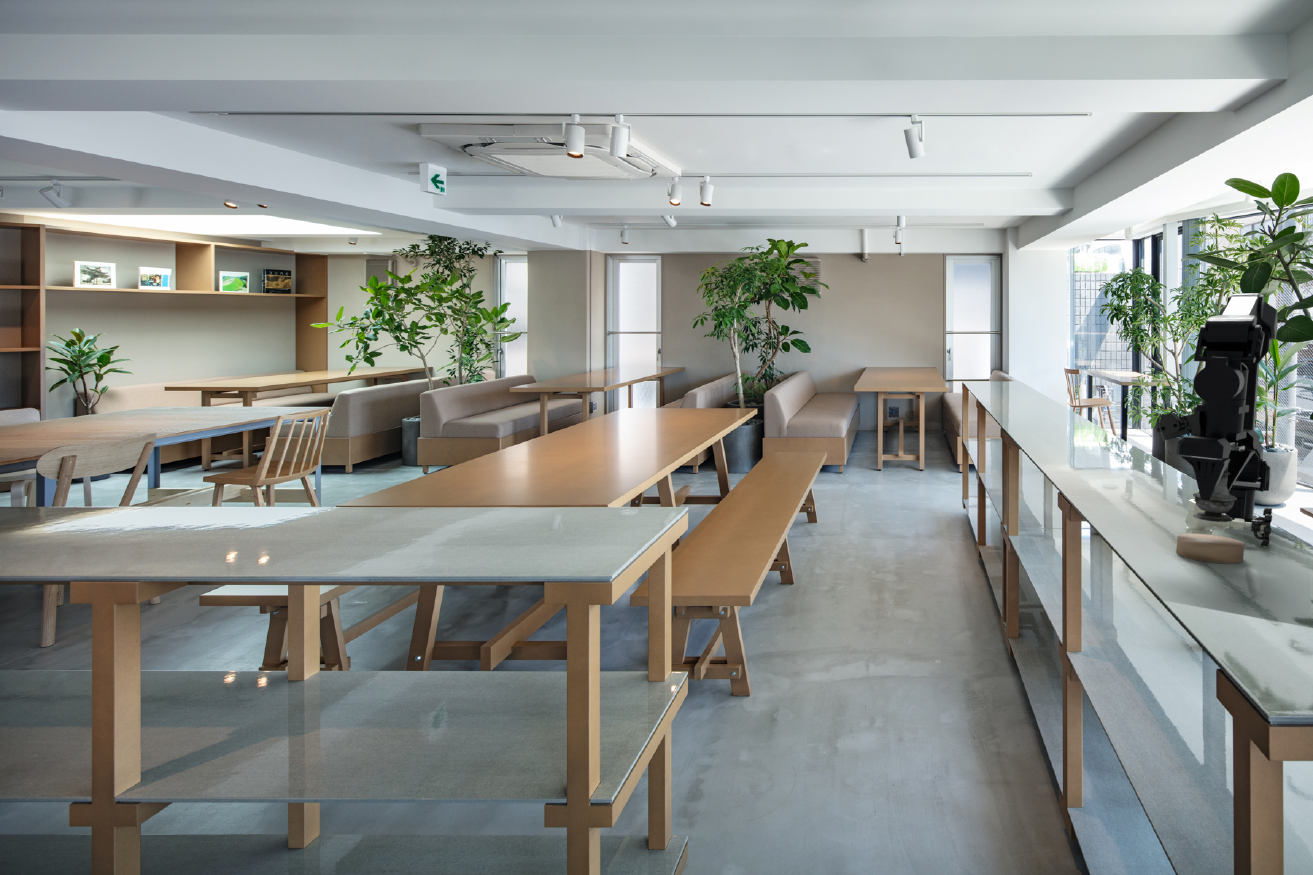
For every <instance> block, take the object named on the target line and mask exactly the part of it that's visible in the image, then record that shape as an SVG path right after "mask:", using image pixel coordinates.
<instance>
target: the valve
mask: <svg viewBox="0 0 1313 875" xmlns="http://www.w3.org/2000/svg"><path fill="white" fill-rule="evenodd" d="M1187 510H1188V512H1187V513H1186V515H1185V523H1186V526H1187V527H1185V534H1208V535H1213V530H1212V529H1215V530H1217V531H1219V532H1225V529H1228V530H1229V529H1230V528H1233V529H1234V530H1236V531H1237V530H1240V531H1243V530H1244V528H1245V529H1250V532H1253V536H1254V538H1255V539H1257V540H1261V542H1260V546H1261V547H1269V545H1270V543H1271V542H1270V541H1271V538H1270V535H1271V534H1272V526H1271V524H1272V520H1273V515H1272V514H1273V508H1271V507H1264V509H1263V511H1262V512H1263V513H1262V515H1263V516H1259V517H1257V518H1256V519H1255V520H1252V521H1251V522H1244V519H1238V518H1235V520H1232V521H1230V522H1214V521H1206V520H1201V519H1197V518H1195V517H1194V516H1193V515H1194V514H1196V513H1198V512H1205V511H1204V510H1201V509H1200V508H1199V507H1198V506H1197V505H1196V503H1195V498H1194V499H1189V500H1188V501H1187ZM1225 515H1226V514H1225ZM1258 533H1260V535H1258Z"/></svg>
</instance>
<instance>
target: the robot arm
mask: <svg viewBox="0 0 1313 875" xmlns="http://www.w3.org/2000/svg"><path fill="white" fill-rule="evenodd" d="M1205 320H1206V321H1205V324H1201V325H1200V326H1199V332H1198V336H1197V342H1196V347H1195V350H1194V352H1195V353H1194V356H1193V361H1194V362H1199V363H1200V362H1201V363H1202V362H1205V363H1204V364H1205V365H1204V367H1203V368H1202V369H1201V370H1199V371H1198V372H1197V374H1196V376H1195V377H1194V379H1193V389H1194V391H1195V394H1196V395H1197V396H1198V397H1199V398H1200V399H1201V403H1198V404H1196V406H1194V410H1193V413H1192V414H1187V415H1183V416H1179V415H1177V414H1176V413H1175V412H1170V413H1166V414H1161V415H1160V417H1159V421H1158V422H1156V424H1157V427H1156V430H1155V431H1156V432H1157V433H1160V434H1161V437H1162V441H1163V442H1164V441H1168V440H1173V439H1175V438H1176V439H1177V438H1180V437H1182V436H1183V437H1182V438H1181V439H1180V440H1179V441H1177V442H1176V443H1177V444H1176V452H1175V454H1176V455H1180V458H1181V459H1182V460H1185V461H1186V462H1187V463H1188V464H1189V465H1191V466H1192V468H1193V473H1194V476H1195V479H1196V480H1195V481H1196V485H1197V489H1198V492H1199V494H1200V498H1201V499H1202V500H1210V498H1211V496H1212V494H1213V492H1214V490H1215V489H1216V487H1217V485H1218V483H1219V481H1220V479H1221V477H1222V475H1223V473H1224V471H1225V469H1226V467H1227V465H1228V472H1229V473H1230V475H1228V479H1227V489H1228V493H1229V494H1230V495H1232V496H1235V497H1236V498H1237V500H1235V501H1234V505H1233V507H1232V508H1231V509H1230V510H1229V511H1227V512H1223V513H1222V514H1226V515H1228V516H1229V517H1231V518H1232V519H1233V520H1235V518H1238V519H1244V522H1251V521H1252V520H1255V519H1256V518H1258V517H1257V515H1255V514H1254V511H1255V502H1256V501H1255V499H1256V491H1258V492H1262V493H1263V492H1269V491H1270V483H1271V481H1270V479H1271V466H1269V464H1268V462H1267V459H1266V458H1264V447H1263V446H1264V445H1262V444H1261V436H1260V434H1258V432H1256V431H1255V428H1256V415H1257V414H1256V412H1257V399H1258V386H1259V385H1258V384H1259V374H1260V363H1261V361H1262V360H1263V358H1265V356H1266V355H1267V354H1268V353H1269V351H1270V348H1271V346H1272V342H1273V341H1274V340H1276V339H1277V336H1278V335H1277V334H1278V333H1277V332H1278V309H1276V308H1275V307H1274V306H1272V305H1271V304H1269V303H1268V302H1266V301H1265V295H1264V294H1260V293H1258V292H1257V293H1256V292H1255V293H1254V292H1253V293H1252V292H1251V293H1233V294H1232V295H1227V301H1226V305H1225V306H1223V307H1222V308H1221V309H1219V314H1218V315H1212V316H1210V317H1208V318H1207V319H1205ZM1272 340H1273V341H1272ZM1189 434H1190V435H1189ZM1184 435H1186V436H1184ZM1228 456H1229V459H1228V458H1227V457H1228Z"/></svg>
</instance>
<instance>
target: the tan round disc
mask: <svg viewBox="0 0 1313 875" xmlns="http://www.w3.org/2000/svg"><path fill="white" fill-rule="evenodd" d="M1176 537H1177V539H1176V550H1175V552H1176V554H1177V555H1179V556H1181V557H1183V558H1187V559H1190V560H1195V561H1199V562H1205V563H1206V562H1207V563H1212V564H1214V563H1215V564H1228V565H1229V564H1230V565H1231V564H1238V563H1242V562H1243V561H1244V556H1245V554H1244V553H1245V543H1244V542H1242V541H1241V540H1237V539H1234V538H1230V537H1227V536H1226V537H1225V536H1221V535H1215V534H1212V535H1208V534H1186V533H1182V534H1179V535H1177V536H1176Z"/></svg>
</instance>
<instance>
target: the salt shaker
mask: <svg viewBox="0 0 1313 875" xmlns="http://www.w3.org/2000/svg"><path fill="white" fill-rule="evenodd" d="M1227 458H1228V459H1229V456H1228V457H1227ZM1228 475H1230V473H1229V472H1228V465H1227V467H1226V469H1225V471H1224V473H1223V475H1222V477H1221V479H1220V481H1219V483H1218V485H1217V487H1216V489H1215V490H1214V492H1213V494H1212V496H1211V498H1210V500H1202V499H1201V498H1200V494H1199V491H1198V492H1193V493H1192V496H1193V497H1194V499H1195V503H1196V505H1197V506H1198V507H1199V508H1200V509H1201V510H1204V511H1205V512H1198V513H1196V514H1194V515H1193V516H1194V517H1195V518H1197V519H1201V520H1206V521H1214V522H1230V521H1232V520H1233V519H1232V518H1231V517H1229V516H1228V515H1225V514H1222V513H1223V512H1227V511H1229V510H1230V509H1231V508H1232V507H1233V505H1234V501H1235V500H1237V498H1236V497H1235V496H1232V495H1230V494H1229V493H1228V489H1227V479H1228Z"/></svg>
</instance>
